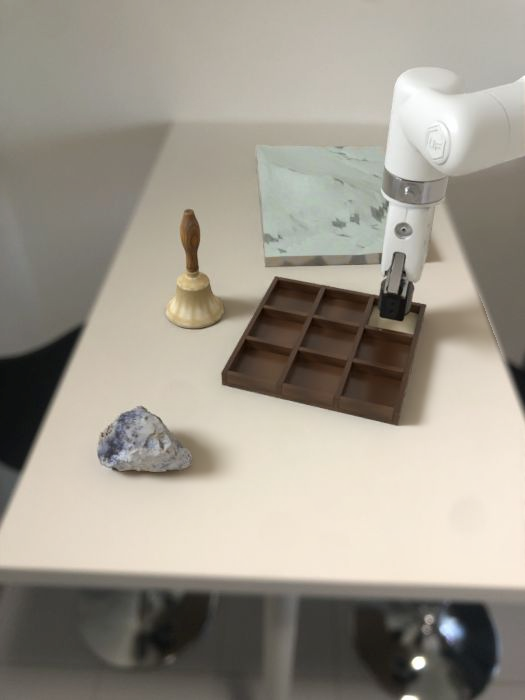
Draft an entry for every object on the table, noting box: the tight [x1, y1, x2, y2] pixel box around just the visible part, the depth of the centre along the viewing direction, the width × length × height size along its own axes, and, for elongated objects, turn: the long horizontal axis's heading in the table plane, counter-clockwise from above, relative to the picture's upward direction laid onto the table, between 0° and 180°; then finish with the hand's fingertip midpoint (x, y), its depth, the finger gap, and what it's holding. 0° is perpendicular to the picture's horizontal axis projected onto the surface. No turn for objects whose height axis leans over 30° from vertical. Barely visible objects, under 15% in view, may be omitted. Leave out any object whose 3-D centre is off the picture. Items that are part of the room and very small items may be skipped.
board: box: [220, 275, 427, 426], centre depth 89 cm, size 22×22×2 cm
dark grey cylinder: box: [378, 278, 415, 316], centre depth 90 cm, size 4×4×4 cm
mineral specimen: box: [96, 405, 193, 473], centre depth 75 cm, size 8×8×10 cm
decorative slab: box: [255, 143, 389, 268], centre depth 118 cm, size 38×27×5 cm
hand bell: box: [165, 208, 225, 330], centre depth 91 cm, size 8×8×16 cm
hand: (395, 305), depth 91 cm, fingers closed on dark grey cylinder, 4 cm apart
